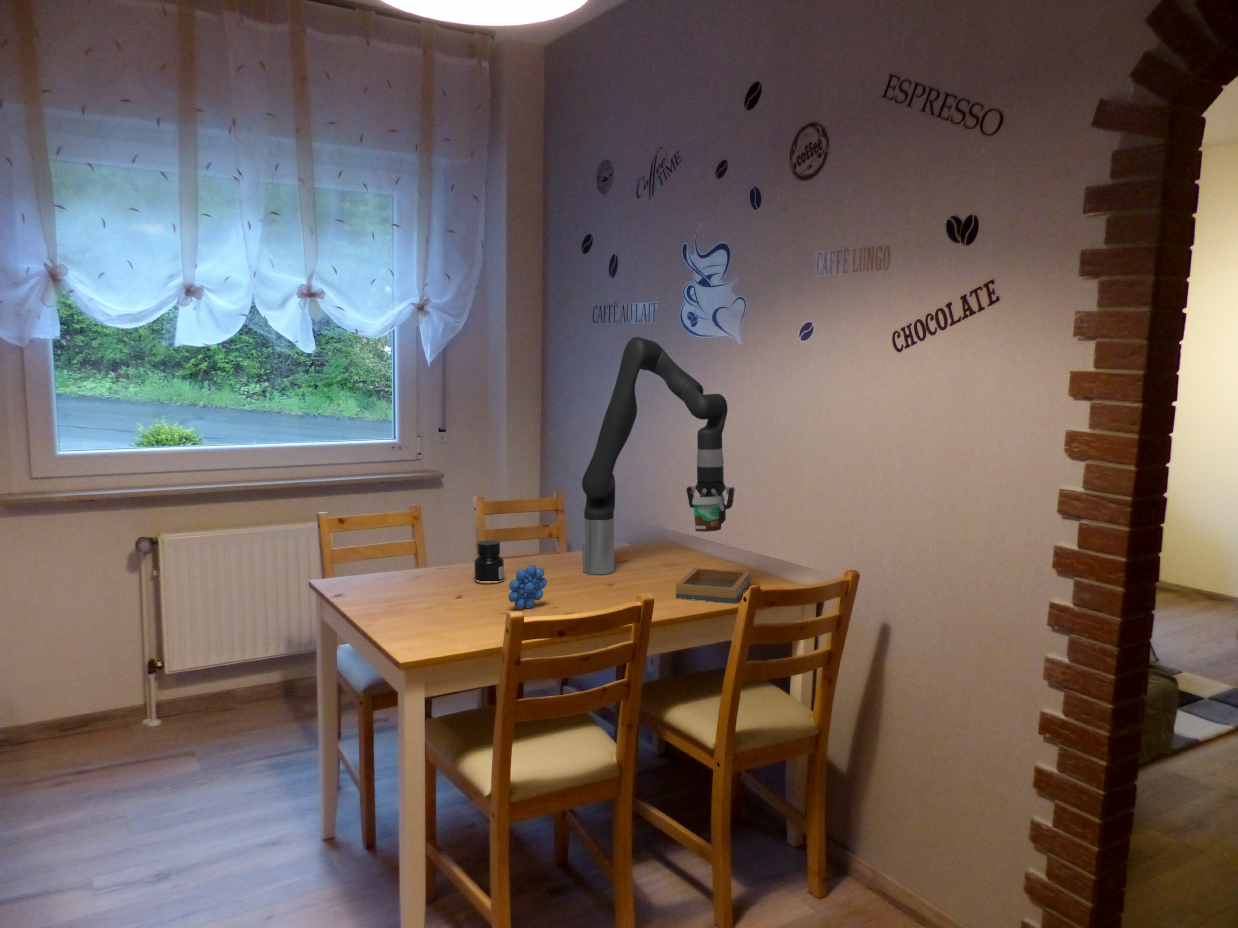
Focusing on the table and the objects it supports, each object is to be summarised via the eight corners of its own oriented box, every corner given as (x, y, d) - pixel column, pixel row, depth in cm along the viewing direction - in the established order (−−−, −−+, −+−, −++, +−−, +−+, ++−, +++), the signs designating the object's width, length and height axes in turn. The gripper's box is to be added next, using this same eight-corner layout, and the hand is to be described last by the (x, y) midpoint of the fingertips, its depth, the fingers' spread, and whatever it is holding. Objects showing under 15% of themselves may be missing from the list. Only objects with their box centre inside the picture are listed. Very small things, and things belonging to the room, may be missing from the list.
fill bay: (675, 598, 256) (675, 584, 256) (694, 580, 276) (694, 567, 276) (735, 603, 251) (735, 589, 250) (750, 584, 271) (750, 571, 270)
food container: (711, 534, 255) (711, 498, 254) (692, 532, 258) (692, 497, 257) (733, 526, 265) (732, 492, 263) (714, 525, 268) (714, 491, 267)
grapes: (539, 601, 255) (538, 559, 253) (551, 606, 249) (550, 563, 248) (501, 608, 249) (500, 564, 247) (513, 613, 243) (512, 569, 242)
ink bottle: (508, 582, 276) (507, 543, 274) (480, 586, 272) (479, 546, 270) (498, 575, 284) (497, 538, 283) (470, 579, 280) (469, 540, 279)
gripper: (682, 465, 258) (683, 524, 260) (732, 466, 254) (733, 526, 256) (688, 462, 265) (689, 519, 267) (737, 463, 261) (738, 521, 263)
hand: (711, 522), depth 262 cm, fingers closed on food container, 5 cm apart
